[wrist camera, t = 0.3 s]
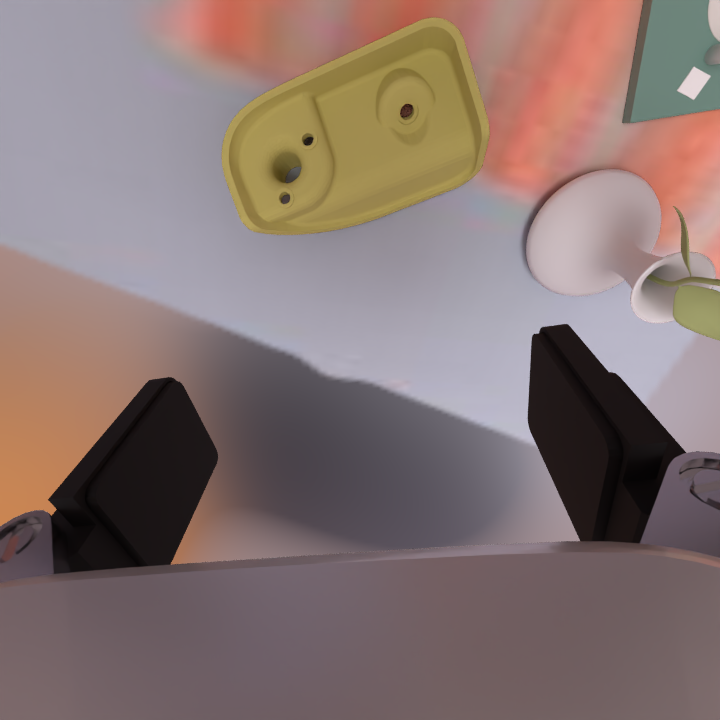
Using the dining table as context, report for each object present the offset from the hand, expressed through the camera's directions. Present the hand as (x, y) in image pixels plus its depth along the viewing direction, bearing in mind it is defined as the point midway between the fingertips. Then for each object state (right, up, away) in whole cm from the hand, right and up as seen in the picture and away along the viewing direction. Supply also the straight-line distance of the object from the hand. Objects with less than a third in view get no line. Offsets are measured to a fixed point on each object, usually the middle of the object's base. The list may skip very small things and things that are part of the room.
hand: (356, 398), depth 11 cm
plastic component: (0, +20, +24) cm, 31 cm away
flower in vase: (+21, +14, +27) cm, 37 cm away
